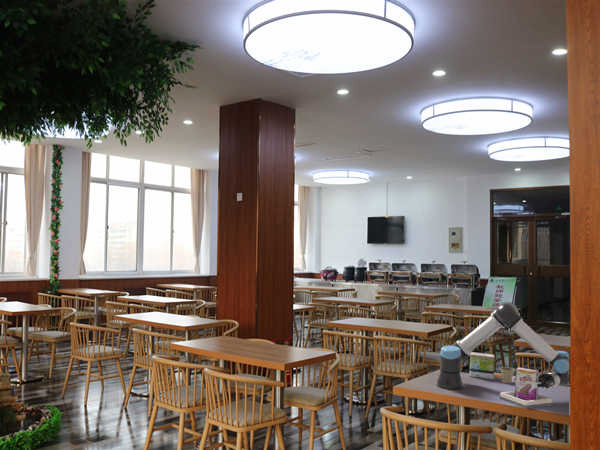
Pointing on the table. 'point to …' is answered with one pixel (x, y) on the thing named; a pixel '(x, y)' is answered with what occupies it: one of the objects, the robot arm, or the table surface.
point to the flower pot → (507, 374)
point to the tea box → (482, 365)
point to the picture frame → (525, 403)
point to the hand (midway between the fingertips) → (522, 382)
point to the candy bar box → (526, 384)
